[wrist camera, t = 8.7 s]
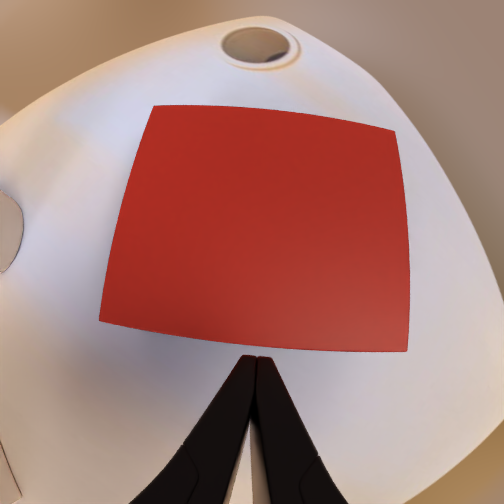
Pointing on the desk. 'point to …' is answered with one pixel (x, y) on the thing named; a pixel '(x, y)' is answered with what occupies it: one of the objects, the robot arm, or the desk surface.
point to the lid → (263, 232)
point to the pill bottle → (9, 230)
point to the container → (7, 482)
